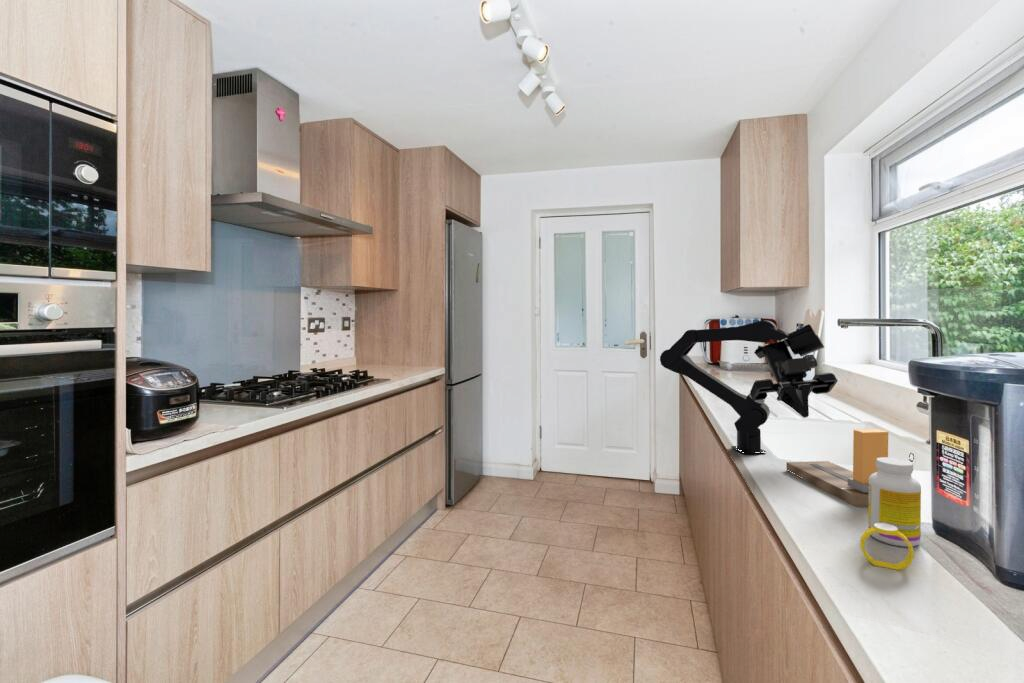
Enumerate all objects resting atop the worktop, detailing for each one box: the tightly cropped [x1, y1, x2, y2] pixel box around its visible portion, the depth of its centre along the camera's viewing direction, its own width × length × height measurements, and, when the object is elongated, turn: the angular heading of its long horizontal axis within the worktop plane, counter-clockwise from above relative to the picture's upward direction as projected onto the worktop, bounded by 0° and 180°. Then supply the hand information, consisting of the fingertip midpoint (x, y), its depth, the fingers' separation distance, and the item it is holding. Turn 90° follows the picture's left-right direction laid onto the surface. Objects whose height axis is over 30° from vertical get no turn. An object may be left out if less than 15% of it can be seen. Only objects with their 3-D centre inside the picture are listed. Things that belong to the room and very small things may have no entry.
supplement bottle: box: [867, 456, 922, 548], centre depth 77 cm, size 7×7×13 cm
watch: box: [859, 523, 915, 571], centre depth 69 cm, size 6×3×6 cm, turn 59°
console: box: [786, 460, 869, 508], centre depth 102 cm, size 22×10×2 cm, turn 2°
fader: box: [848, 428, 889, 493], centre depth 93 cm, size 4×6×12 cm, turn 92°
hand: (806, 416), depth 113 cm, fingers closed
